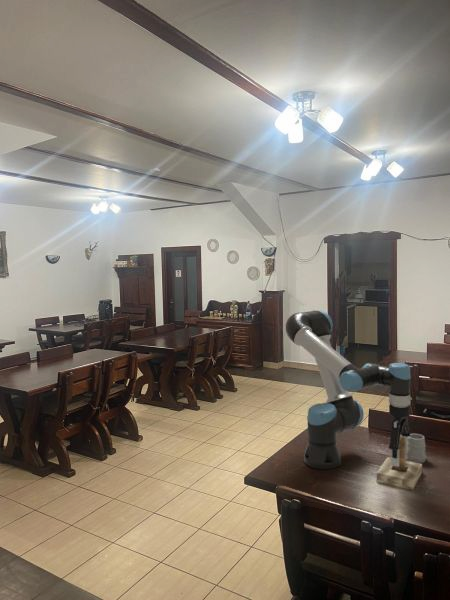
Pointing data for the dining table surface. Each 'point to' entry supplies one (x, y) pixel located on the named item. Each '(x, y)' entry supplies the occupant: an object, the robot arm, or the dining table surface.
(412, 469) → the wooden block with hole
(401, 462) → the leg
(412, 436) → the mug
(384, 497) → the dining table surface
